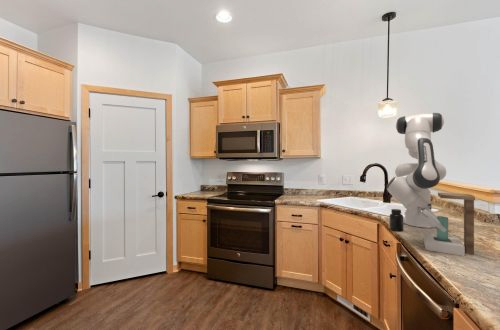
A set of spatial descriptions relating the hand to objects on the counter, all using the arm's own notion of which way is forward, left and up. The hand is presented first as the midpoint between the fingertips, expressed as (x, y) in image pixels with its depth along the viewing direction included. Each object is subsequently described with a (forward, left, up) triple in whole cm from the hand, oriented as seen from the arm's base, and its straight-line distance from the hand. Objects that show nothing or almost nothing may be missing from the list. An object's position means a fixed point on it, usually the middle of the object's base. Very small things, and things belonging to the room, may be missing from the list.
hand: (444, 229), depth 105 cm
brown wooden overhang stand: (0, +4, -9) cm, 9 cm away
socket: (0, -1, -9) cm, 9 cm away
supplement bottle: (-23, -19, -9) cm, 31 cm away
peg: (0, -1, -6) cm, 6 cm away
